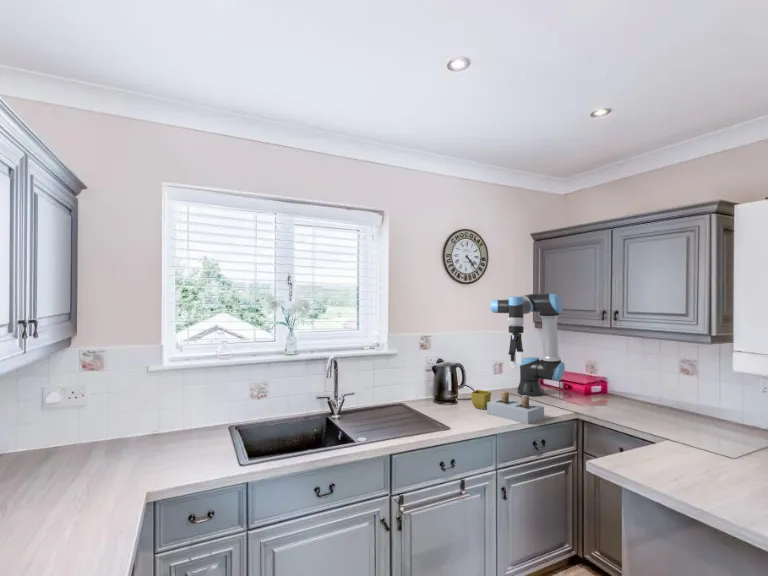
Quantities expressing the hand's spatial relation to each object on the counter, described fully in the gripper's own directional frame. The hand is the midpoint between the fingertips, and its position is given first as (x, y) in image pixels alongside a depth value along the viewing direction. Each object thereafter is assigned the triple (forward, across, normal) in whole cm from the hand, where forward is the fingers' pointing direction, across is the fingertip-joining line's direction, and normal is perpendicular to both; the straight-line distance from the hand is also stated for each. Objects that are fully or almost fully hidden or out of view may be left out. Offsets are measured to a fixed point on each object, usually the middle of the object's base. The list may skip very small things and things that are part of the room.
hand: (516, 365), depth 224 cm
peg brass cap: (+22, -2, -6) cm, 22 cm away
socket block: (+26, 0, 0) cm, 27 cm away
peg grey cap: (+22, +2, +5) cm, 22 cm away
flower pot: (+27, -6, -21) cm, 34 cm away
